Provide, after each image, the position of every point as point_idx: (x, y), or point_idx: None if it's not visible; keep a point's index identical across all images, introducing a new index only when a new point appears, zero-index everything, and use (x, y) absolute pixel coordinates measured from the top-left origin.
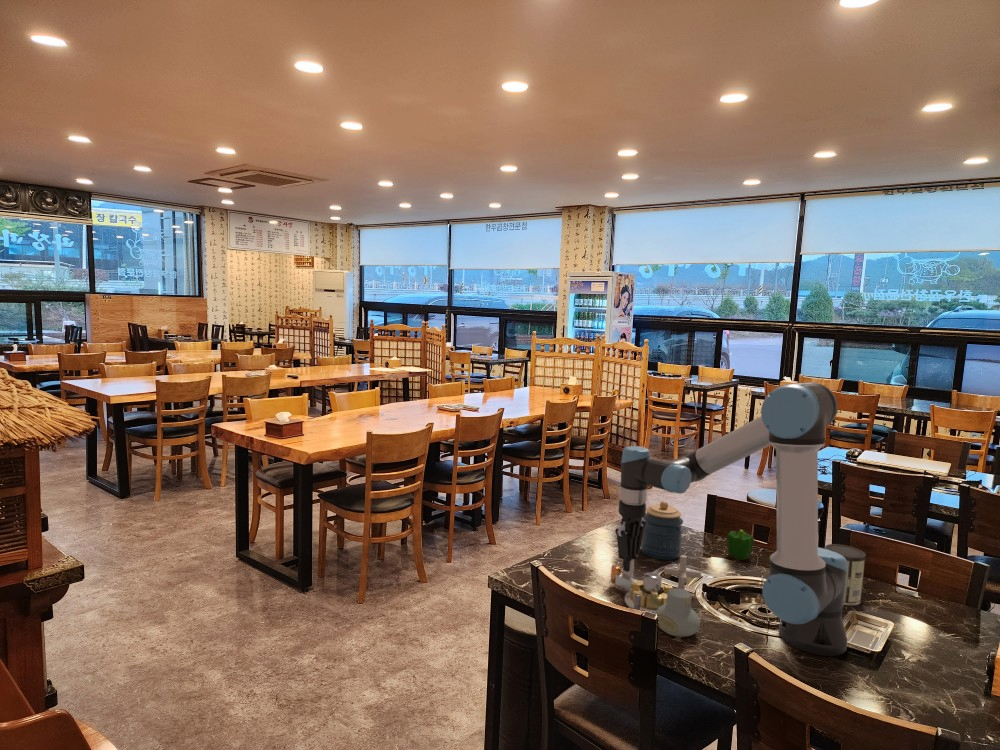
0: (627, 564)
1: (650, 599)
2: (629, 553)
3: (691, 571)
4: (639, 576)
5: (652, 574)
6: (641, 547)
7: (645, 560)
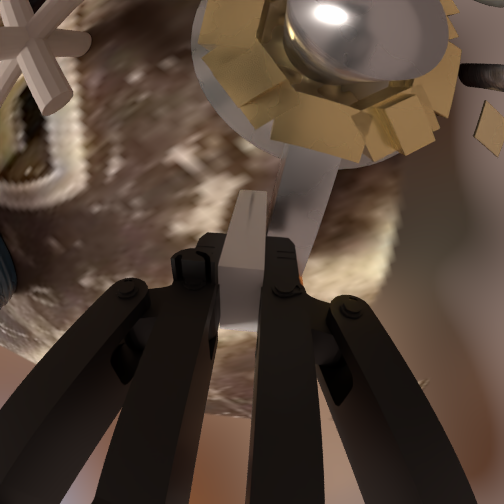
0: (298, 272)
1: None
2: (312, 346)
3: (11, 15)
4: (109, 218)
5: (342, 12)
6: (11, 295)
7: (29, 259)
